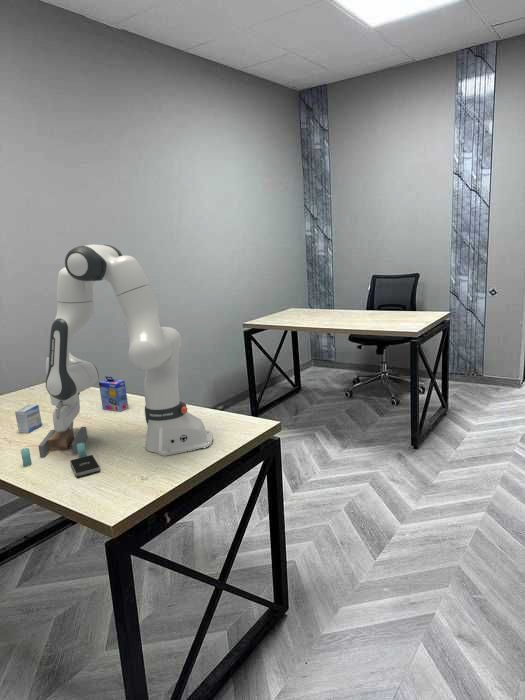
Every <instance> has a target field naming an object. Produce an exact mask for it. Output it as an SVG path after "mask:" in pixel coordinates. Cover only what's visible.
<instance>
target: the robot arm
mask: <svg viewBox="0 0 525 700" xmlns="http://www.w3.org/2000/svg"><path fill="white" fill-rule="evenodd" d="M104 280H105V281H107V282H108V283H109V284H110V286H111V287H112V289H113V292H114V294H115V296H116V299H117V303H118V304H119V307H120V310H121V311H122V314H123V316H124V319H125V324H126V327H127V333H128V340H129V347H128V353H127V355H128V359H129V361H130V363H131V364H132V365H133V366H134V367H135V368H136V369H138V370H141V371H145V376H144V380H143V383H142V384H143V393H144V394H143V395H144V402H145V406H144V417H145V419H144V420H145V421H146V422H145V423H146V425H147V427H146V441H145V446H144V447H145V450H147V451H149V452H150V453H156V454H159V455H161V456H163V457H167V456H171V455H172V456H173V455H176V454H181V453H182V454H183V453H187V451H188V452H191V451H192V450H193V451H196V450H195V449H199V448H204V447H207V446H209V445H210V444H211V443H212V444H213V442H212V440H213V441H214V438H213V434H212V432H211V431H210V430H208V429H206V427H205V424H204V422H203V421H202V419H201V418H200V417H197V416H196V415H193V414H192V413H191V412H188V407H187V404H186V402H185V401H181V400H180V394H179V393H180V391H179V377H178V376H179V366H180V353H181V352H180V350H181V347H182V341H183V340H182V337H181V336H182V335H181V334H180V332H179V331H178V330H177V329H175V328H174V327H171V326H161V324H160V323H161V322H160V318H159V317H160V316H159V315H160V314H159V312H160V307H159V303H158V301H157V299H156V297H155V293H154V292H153V290H152V287H151V284H150V282H149V280H148V278H147V276H146V274H145V272H144V269H143V268H142V266H141V265H140V263H139V262H138V260H137V259H136V258H135V257H134V256H131V255H123V254H122V252H121V250H119V248H117V247H115V246H112V245H110V244H86V245H78V246H76V247H73V248H72V249H71V250H69V251H68V252H67V254H66V255H65V259H64V266H63V268H61V269H60V270H59V272H58V275H57V283H56V301H57V302H56V303H57V304H56V307H57V308H56V315H55V319H54V321H53V322H52V324H51V327H50V328H51V329H50V335H49V336H50V337H49V350H48V351H49V354H48V356H47V357H46V359H45V372H46V377H45V388H46V391H47V392H48V394H49V395H50V403H51V405H52V406H55V408H54V409H53V411H52V421H53V430H55V431H56V432H63V431H66V430H73V431H74V420H75V418H76V417H78V415H79V414H80V411H81V406H80V405H81V402H80V395H81V393H82V392H84V391H86V390H88V389H90V388H92V387H94V386H95V385H97V383H98V382H99V378H100V377H99V376H100V375H99V371H98V368H97V367H96V365H95V364H94V363H93V362H92V361H88V360H84V359H80V358H78V357H75V356H74V355H72V353H71V352H70V349H71V348H70V347H71V343H72V341H73V339H74V337H75V336H76V335H77V334H78V333H79V332H80V331H81V330H82V329H84V328H85V327H87V326H88V324H90V322H91V321H92V319H93V318H94V311H95V307H94V305H95V303H94V294H93V293H94V292H93V291H94V285H95V283H96V282H99V281H104ZM208 442H209V443H208ZM212 444H211V445H212ZM211 445H210V446H211ZM210 446H209V447H210ZM204 449H205V448H204ZM199 450H200V449H199ZM193 451H192V452H193Z"/></svg>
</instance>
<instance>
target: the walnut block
mask: <svg viewBox="0 0 525 700" xmlns="http://www.w3.org/2000/svg"><path fill="white" fill-rule="evenodd" d="M74 433H75V432H74V429H73V430H66V431H63V432H56V431H55V432H54V433H53V434H52V436H51V437H50V438H49V439H48V446H49V452H53V451H54V452H56V450H57V451H66V450H68V449H70V447H72V446H71V445H72V442H73V440H74V438H75V434H74Z"/></svg>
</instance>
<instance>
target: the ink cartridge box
mask: <svg viewBox="0 0 525 700" xmlns="http://www.w3.org/2000/svg"><path fill="white" fill-rule="evenodd" d="M104 377H105V379H102V380H100V381H98V387H99V393H100V399H101V406H102V410H105V411H112V412H119V413H120V412H122V411H124V410H126V409H129V403H128V395H127V389H126V388H127V387H126V383H125V382H126V381H125V380H124V379H114V378H113V377H112V376H104Z"/></svg>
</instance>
